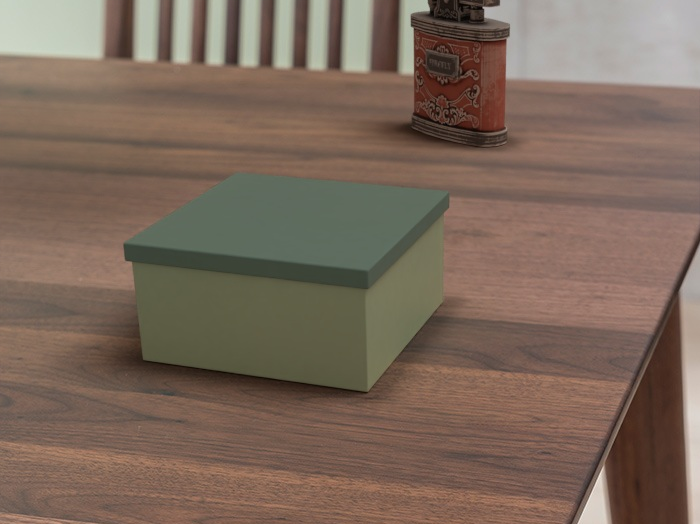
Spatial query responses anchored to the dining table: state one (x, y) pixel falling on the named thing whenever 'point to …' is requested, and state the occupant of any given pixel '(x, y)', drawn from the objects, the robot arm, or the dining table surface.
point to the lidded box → (290, 278)
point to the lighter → (460, 72)
